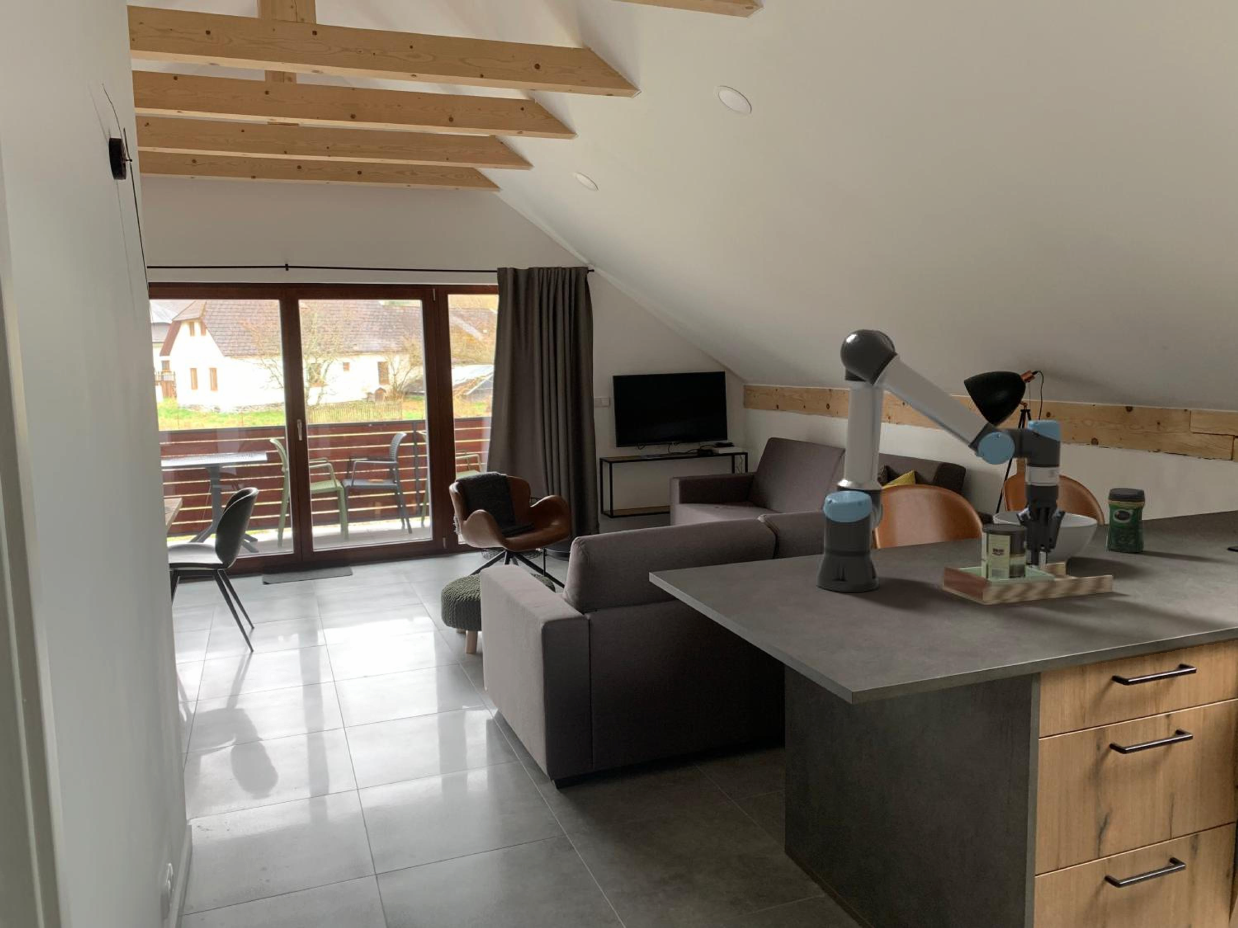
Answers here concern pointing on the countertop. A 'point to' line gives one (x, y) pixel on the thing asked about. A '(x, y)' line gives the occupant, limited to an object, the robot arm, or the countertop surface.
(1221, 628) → the countertop surface
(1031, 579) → the mint green tray
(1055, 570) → the bay
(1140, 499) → the coffee jar
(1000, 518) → the decorative bowl
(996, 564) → the coffee can
